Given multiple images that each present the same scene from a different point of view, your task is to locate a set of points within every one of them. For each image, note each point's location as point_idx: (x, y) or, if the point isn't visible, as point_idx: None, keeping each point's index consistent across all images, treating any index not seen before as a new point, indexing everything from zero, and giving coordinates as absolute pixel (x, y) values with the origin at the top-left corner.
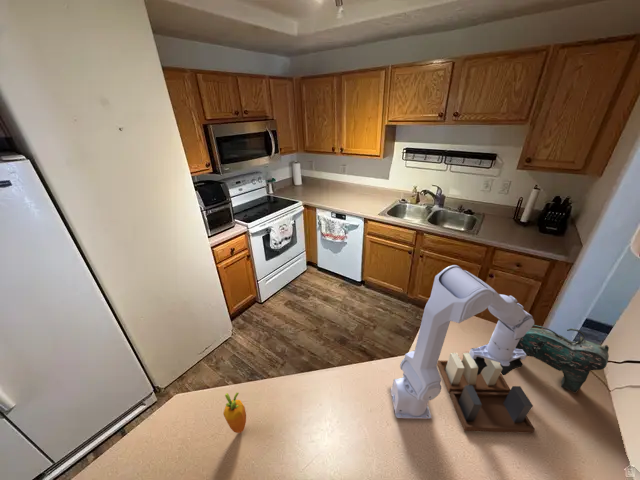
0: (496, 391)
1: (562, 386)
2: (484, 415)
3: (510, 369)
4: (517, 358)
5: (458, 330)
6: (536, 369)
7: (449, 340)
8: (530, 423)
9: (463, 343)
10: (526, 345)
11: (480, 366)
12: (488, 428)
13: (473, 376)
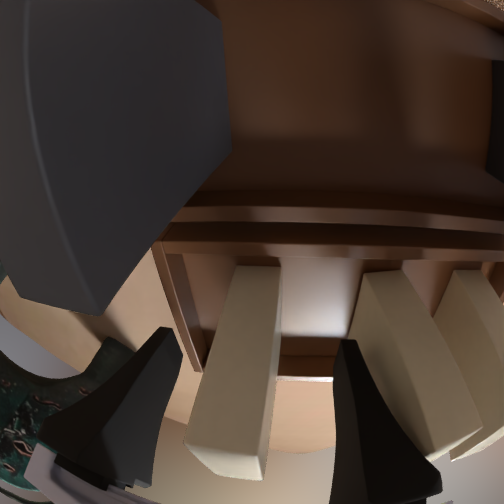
0: (245, 229)
1: None
2: (421, 70)
3: (118, 392)
4: (66, 498)
5: (271, 428)
6: (55, 308)
7: (328, 413)
8: None
9: (280, 407)
10: None
11: (424, 472)
12: None
13: (422, 342)
